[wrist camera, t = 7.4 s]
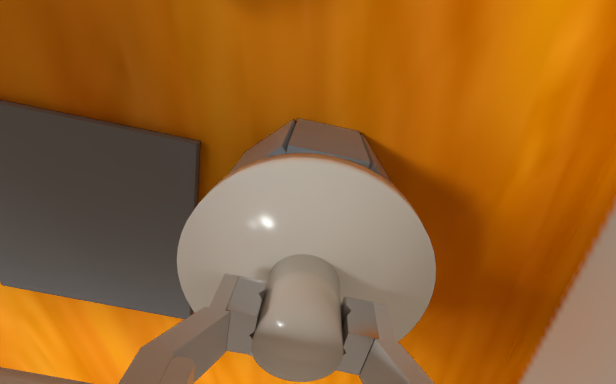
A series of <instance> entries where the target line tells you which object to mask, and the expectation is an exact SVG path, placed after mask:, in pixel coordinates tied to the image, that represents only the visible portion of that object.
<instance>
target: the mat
mask: <svg viewBox="0 0 616 384" xmlns="http://www.w3.org/2000/svg"><path fill="white" fill-rule="evenodd" d="M199 161H200V141H198V140H193V139H188V138H183V137H178V136H173V135H169V134H164V133H159V132H154V131H149V130H144V129H139V128H135V127H130V126H125V125H120V124H115V123H110V122H105V121H101V120H96V119H91V118H86V117H81V116H76V115H71V114H67V113H62V112H57V111H52V110H47V109H42V108H37V107H33V106H28V105H23V104H18V103H13V102H8V101H4V100H0V282H1V285H4V286H9V287H15V288H20V289H26V290H31V291H36V292H42V293H47V294H52V295H58V296H63V297H69V298H74V299H79V300H85V301H90V302H96V303H101V304H106V305H112V306H117V307H122V308H128V309H133V310H139V311H144V312H149V313H155V314H160V315H165V316H171V317H176V318H182V319H186V318H188V317H190V316H191V315H192V314H193V310H192V308H191V306H190V305H189V303H188V301H187V299H186V297H185V295H184V292H183V290H182V288H181V284H180V280H179V276H178V270H177V251H178V244H179V240H180V236H181V233H182V231H183V228H184V226H185V224H186V222H187V220H188V218H189V217H190V215H191V214H192V212H193V211H194V209H195V208H196V206H197V205H198V184H199Z"/></svg>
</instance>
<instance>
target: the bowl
mask: <svg viewBox="0 0 616 384" xmlns="http://www.w3.org/2000/svg"><path fill="white" fill-rule="evenodd" d="M291 153H314V154H322V155H330V156H334V157H338V158H342V159H346V160H349V161H352V162H354V163H357V164H359V165H362V166H364V167H366V168H368V169H370V170H372V171H373V172H375V173H377V174H379V175H380V176H382V177H383V178H384V179H386V180H387V181H388V182H390V183H391V184H392V182H391V180H390V178H389V177H388V175H387V173H386V172H385V170H384V168H383V167H382V165H381V163H380V162H379V160H378V158H377V157H376V155H375V153H374V152H373V150H372V148H371V147H370V145H369V143H368V142H367V140H366V138H365V137H364V135H363V134H361V135H360V133H359V131H356V130H352V129H347V128H342V127H338V126H333V125H328V124H323V123H319V122H314V121H309V120H304V119H300V118H298V120H297V123H296V122H295V120H294V119H293V120H291V121H290V122H289V123H287V124H286V125H284V126H283V127H281V128H280V129H278V130H277V131H275V132H274V133H272V134H271V135H269V136H268V137H266V138H265V139H263V140H262V141H260V142H259V143H257V144H256V145H254V146H253V147H251V148H250V149H248V150H247V151H246V152H245V153H244V154H243V155H242V157H241V158H240V159H239V161H238V162H237V163H236V165H235V166H234V167H233V169H232V170H231V171H230V173H232V172H233V171H235V170H237V169H238V168H240V167H242V166H244V165H247V164H249V163H252V162H254V161H257V160H259V159H263V158H267V157H271V156H275V155H283V154H291ZM230 173H229V174H230ZM392 185H393V184H392Z"/></svg>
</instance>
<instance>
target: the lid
mask: <svg viewBox="0 0 616 384" xmlns="http://www.w3.org/2000/svg"><path fill="white" fill-rule="evenodd" d="M177 270H178V276H179V280H180V284H181V288H182V290H183V292H184V295H185V297H186V299H187V301H188V303H189V305H190V306H191V308H192V310H193V311H194V312H195V313H196V312H197V311H199V310H200V309H202V308H204V307H210V304H211V302H212V300H213V298H214V295H215V293H216V291H217V289H218V287H219V284H220V282H221V280H222V278H223V276H224V275H225V273H228V274H233V275H237V276H243V277H248V278H252V279H257V280H262V281H266V282H267V284H266V290H265V294H264V298H263V302H262V305H261V309H260V314H259V318H258V322H257V326H256V330H255V332H254V336H253V340H252V345H251V350H252V352H251V354H248V355H251V356H253V357H254V359H255V361H256V362H257V363H258V365H259V366H260V367H261V368H262V369H264V370H265V371H266V372H268V373H269V374H271V375H273V376H276V377H278V378H281V379H284V380H289V381H295V382H307V381H314V380H318V379H321V378H324V377H326V376H328V375H330V374H331V373H333V372H334V371H335V370H336V369H337V368H338V367H339V365H340V364H341V362H342V359H343V334H342V315H341V303H342V300H343V298H344V296H345V297H350V298H356V299H361V300H366V301H373V302H378V303H384V304H386V305H387V308H388V313H389V317H390V321H391V325H392V329H393V334H394V338H395V342H396V343H397V342H398V341H399V340H401V339H402V338H403V337H404V336H405V335H406V334H407V333H409V332H410V331H411V330H412V329H413V328H414V326H415V325H416V324H417V322H418V321H419V320H420V319H421V317H422V316H423V314H424V312H425V310H426V309H427V307H428V305H429V302H430V300H431V297H432V294H433V290H434V285H435V281H436V263H435V255H434V250H433V247H432V244H431V241H430V238H429V236H428V234H427V232H426V230H425V228H424V226H423V224H422V222H421V221H420V219H419V217H418V215H417V213H416V211H415V210H414V208H413V207H412V205H411V204H410V203H409V201H408V200H407V199H406V197H405V196H404V195H403V194H402V193H401V192H400V191H399V190H398V189H397V188H396V187H395V186H394V185H392V184H391V183H390V182H388V181H387V180H386V179H384V178H383V177H382V176H380V175H379V174H377V173H375V172H373V171H372V170H370V169H368V168H366V167H364V166H362V165H359V164H357V163H354V162H352V161H349V160H346V159H342V158H338V157H334V156H330V155H322V154H314V153H291V154H283V155H275V156H271V157H267V158H263V159H259V160H257V161H254V162H252V163H249V164H247V165H244V166H242V167H240V168H238V169H237V170H235V171H233V172H232V173H230V174H228V175H227V176H226V177H224V178H223V179H222V180H221V181H219V182H218V183H217V184H216V185H215V186H214V187H213V188H212V189H211V190H210V191H209V192H208V193H207V194H206V195H205V197H204V198H203V199H202V200H201V202H200V203H199V204H198V205H197V206H196V208H195V209H194V211H193V212H192V214H191V215H190V217H189V218H188V220H187V222H186V224H185V226H184V228H183V231H182V233H181V236H180V240H179V244H178V251H177Z"/></svg>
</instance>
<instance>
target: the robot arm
mask: <svg viewBox="0 0 616 384" xmlns="http://www.w3.org/2000/svg"><path fill="white" fill-rule="evenodd" d="M266 284H267V282H266V281H262V280H257V279H252V278H248V277H243V276H237V275H233V274H228V273H225V275H224V276H223V278H222V280H221V282H220V284H219V287H218V289H217V291H216V293H215V295H214V298H213V300H212V302H211V304H210V307H204V308H202V309H200V310H199V311H197V312H196V313H194V314H193V315H191V316H190V317H188V318H186V319H185V320H183V321H182V322H180V323H179V324H177V325H176V326H174V327H172V328H171V329H169V330H168V331H166V332H165V333H163V334H161V335H160V336H158V337H157V338H155V339H154V340H152V341H151V342H149V343H147V344H146V345H144V346H143V347H141V348H140V350H139V352H138V353H137V355H136V356H135V358H134V360H133V361H132V363H131V364H130V366H129V368H128V369H127V371H126V372H125V374H124V376H123V377H122V379H121V380H120V382H119V384H194V382H195V381H196V380H197V379H198V378H199V377H201V376H202V375H203V374H204V373H205V372H206V371H207V370H208V369H209V368H210V367H211V366H212V365H213V364H214V363H215V362H216V361H217V360H218V359H219V358H220V357H221V356H222V355H223V354H224V353H225V352H226V351H231V352H238V353H244V354H251V352H252V350H251V345H252V340H253V336H254V332H255V330H256V326H257V322H258V318H259V314H260V309H261V305H262V302H263V298H264V294H265V290H266ZM341 315H342V334H343V359H342V362H341V364H340V365H339V367H338V368H337V369H336V370H337V371H342V372H346V373H351V374H356V375H360V376H359V377H360V379H361V381H362V382H363V384H435V383H434V382H433V381H432V380H431V379H430V378H429V377H428V375H427V374H426V373H425V372H424V371H423V370H422V368H421V367H420V366H419V365H418V364H417V363H416V362H415V360H414V359H413V358H412V357H411V356H410V355H409V353H408V352H407V351H406V350H405V349H404V348H403V347H402V345H401V344H400V343H396V342H395V338H394V334H393V329H392V325H391V321H390V317H389V313H388V308H387V305H386V304H384V303H378V302H373V301H366V300H361V299H356V298H350V297H345V296H344V298H343V300H342V303H341ZM0 384H92V383H86V382H80V381H75V380H69V379H64V378H58V377H52V376H47V375H41V374H36V373H30V372H24V371H19V370H13V369H7V368H2V367H0Z"/></svg>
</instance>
